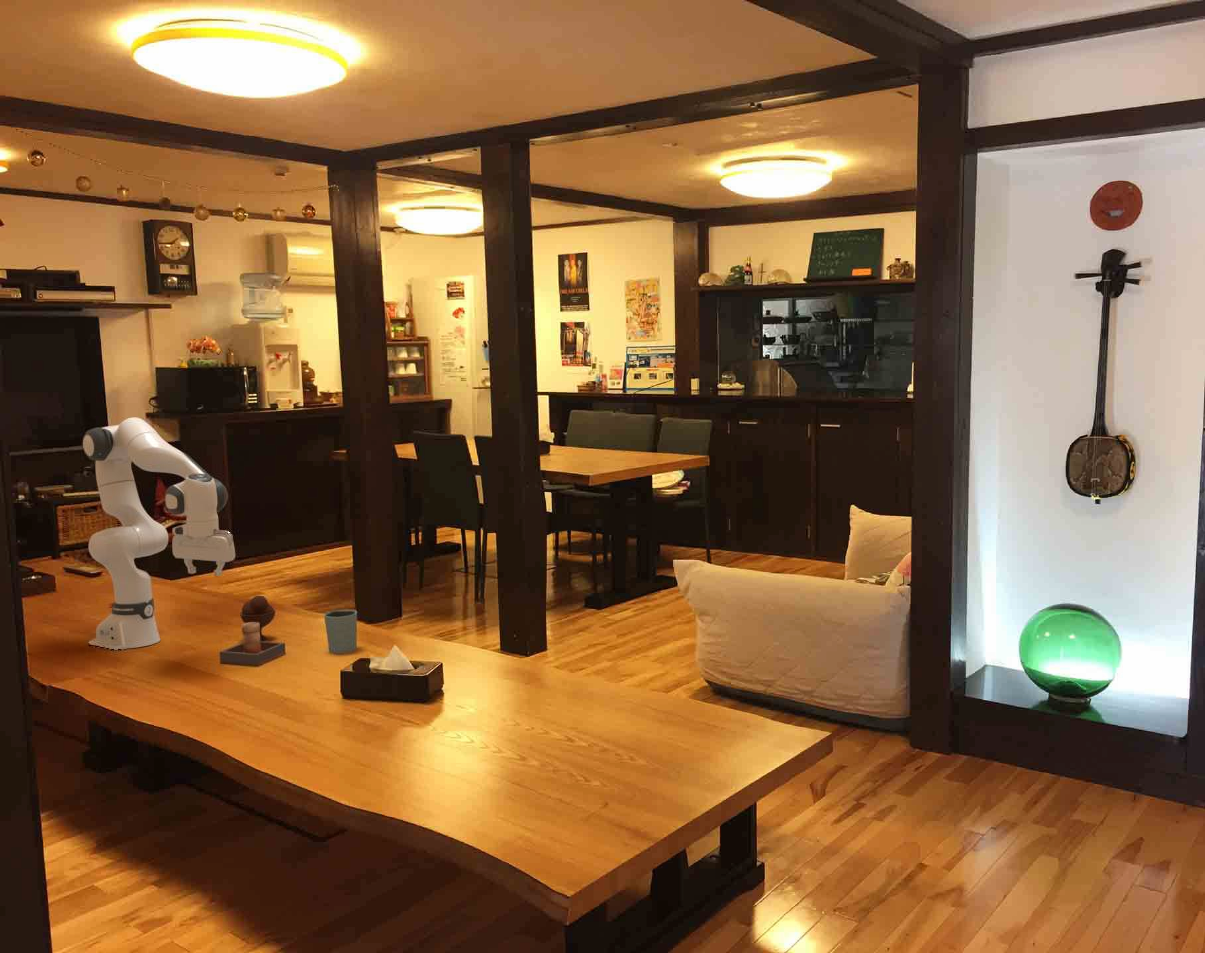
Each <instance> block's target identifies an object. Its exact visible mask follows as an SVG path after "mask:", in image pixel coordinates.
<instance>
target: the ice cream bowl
mask: <svg viewBox="0 0 1205 953" xmlns="http://www.w3.org/2000/svg"><path fill="white" fill-rule="evenodd" d="M239 614H240V618H241V619H242V622H243V624H244V623H248V622H259V624H260V641H264V642H268V640H269V638H268V637H267V636H266V635H263V632H262V630H263V628H264V627H267V625H269V624H271V622H272V621H273V620H274V618H275V616H276V610H275V609H274V607H273V606H272V605H271V604H270V603H269V602H268V599H267V598H266V597H265V596H264V595H255V596H254V597H252V598H251V599H249V600H248V601H246V602H245V603H244V604H243V606H242V607H241V612H240V613H239Z"/></svg>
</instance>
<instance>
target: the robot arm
mask: <svg viewBox="0 0 1205 953" xmlns="http://www.w3.org/2000/svg"><path fill="white" fill-rule="evenodd" d="M82 449H83V451H84V454H85V455H86V456H87V458H88V459H90V460H92V461H95V479H96V485H97V490H98V493H99V498H100V504H101V508H102V510H103V511H104V512H105V513H106V514H108V515H110V516H112V517H114V518H116V519H117V520H118V521H119V523H121V525H122V526H116V527H115V526H114V527H108V528H105V529H103V530H100V531H97V532H95V533H93V534H92V535H91V536H90V538H89V540H88V552H89V554H90V556H91V557H92V558H93V559H94V560H95V561H96V562H97V563H99V564H101V565H102V566H103V567H104V568H105V569H106V570H107V571H108V573H109V576H110V577H111V581H112V584H113V585H112V586H113V593H114V602H113V603H110V604H109V607H108V609H111V611H110V612H111V613H110V614H109V615H108V616H107V617H106V618H104V619H103V620H102V621H101V622H100V623H99V624H97V626H96V629H95V638H93V639H91V640H89V641H88V643H89V644H92V645H97V646H100V647H105V648H104V649H106V648H109V649H108V650H111V649H114V650H113V651H119V650H118V649H121V650H126V649H133V648H134V649H135V648H142V647H146V646H152V645H154V644H157V643H159V642H160V641H161V638H160V633H159V631H158V626H157V623H156V622H157V621H156V616H155V614H154V612H155V602H154V598H153V591H152V579H151V576H150V575H149V573H148V572H147V571H145V570H142V569H140V568H137V566H136V564H135V559H137V558H138V559H139V558H142V557H143V558H144V557H148V556H152V555H154V554H158V553H160V552H162V551H164V550H165V549H166V548H167V546H168V543H169V533H168V531H167V529H166V528H165V526H164V525H162V524H161V523H160V522H157V521H156V520H154V519H153V518H152V517H151V516H150V515H149V514H148V513H147V511H146V510H145V508H144V507H143V505H142V503H141V500H140V497H139V493H138V489H137V485H136V481H135V477H134V474H133V470H132V463H133V464H134V465H135V466H137V467H138V468H139V469H141V470H143V471H146V472H153V473H166V474H174V475H177V476H180V477H182V478H184V480H183V481H181V482H178V483H176V484H173V485H170V486H169V487H168V488H167V489H166V491H165V493H164V499H163V500H164V506H165V509H166V510H167V511H168V513H171V514H172V515H173V516H186V523H183V524H182V525H177V526H176V527H175V526H174V527H172V535H173V537H172V541H171V542H172V544H171V546H172V555H173V556H174V558H175V559H183V561H184V562H183V563H184V564H185V566H186V567H187V568H186V569H187V573H188V574H190V575H192V574H196V573H197V566H194V565H193V560H197V561H199V560H200V561H208V562H209V561H210V562H215V565H217V567H216V569H214V570H213V575H214V576H216V577H220V576H222V575H223V569H224V567H225V564H226V563H229V562H233V561H234V560H235V558H236V549H235V543H234V539H233V534H232V533H231V532H229V530H227V529H226V530H221V529H220V528H219V516H218V513H219V512H221V510H223V508H225V506H226V504H227V501H228V499H229V493H228V491H227V490H228V489H227V488H226V486H225V485H224V483H223V482H221V481H220V480H218V479H216V478H214V477H213V476H211V475H210V474H209V473H207V471H206V470H205V469H203V468H202V467H201V466H200V465H199V464H198V463H197V462H196V461H195V460H194V459H192V457H191V456H190V455H188V454H187V453H185V452H183V451H182V450H179V449H178V448H176V447H174V446H173V445H171V444H169V443H168V442H167V441H166V440H165V439H163V438H162V437H161V436H160V434H159V433H158V432H157V430H155V428H154V427H152V426H151V425H150V424H149V423H148V422H147V421H146V420H144V419H142V418H140V417H137V416H136V417H133V416H132V417H129V418H126V419H124V420H122V422H120V424H115V425H108V426H104V427H103V426H102V427H95V428H91V429H89V430H87V431H86V432H85V434H84V435H83V436H82ZM100 647H99V648H100Z"/></svg>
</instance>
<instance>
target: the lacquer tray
mask: <svg viewBox="0 0 1205 953" xmlns="http://www.w3.org/2000/svg"><path fill="white" fill-rule="evenodd" d="M260 642H261V652H260V653H258V654H252V653H244V646H243V642H241V643H238V644H236V645H234V646H231V647H228V648H226V649H224V650H221V651H219V663H220V664H224V663H227V664H226V665H235V664H236V665H237V666H247V665H254V666H253V667H260V666H262V665H265V664H267V663H269V662H271V661H273V660H275V659H277V657H278V658H280V657H282V656H284V654H285V655H286V643H285V642H276V641H275V642H273V641H260ZM268 661H269V662H268ZM264 663H265V664H264ZM259 665H260V666H259Z"/></svg>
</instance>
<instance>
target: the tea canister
mask: <svg viewBox="0 0 1205 953" xmlns="http://www.w3.org/2000/svg"><path fill="white" fill-rule="evenodd" d="M241 632H242V643H243V646H244V653H252V654H258V653H260V652H261V642H260V624H259V622H248V623H244V622H243V623H242V624H241Z"/></svg>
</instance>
